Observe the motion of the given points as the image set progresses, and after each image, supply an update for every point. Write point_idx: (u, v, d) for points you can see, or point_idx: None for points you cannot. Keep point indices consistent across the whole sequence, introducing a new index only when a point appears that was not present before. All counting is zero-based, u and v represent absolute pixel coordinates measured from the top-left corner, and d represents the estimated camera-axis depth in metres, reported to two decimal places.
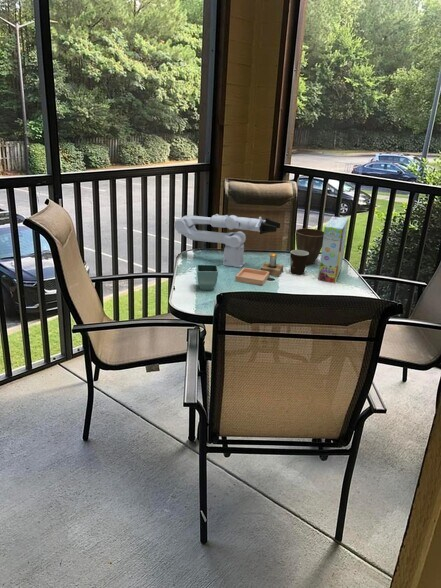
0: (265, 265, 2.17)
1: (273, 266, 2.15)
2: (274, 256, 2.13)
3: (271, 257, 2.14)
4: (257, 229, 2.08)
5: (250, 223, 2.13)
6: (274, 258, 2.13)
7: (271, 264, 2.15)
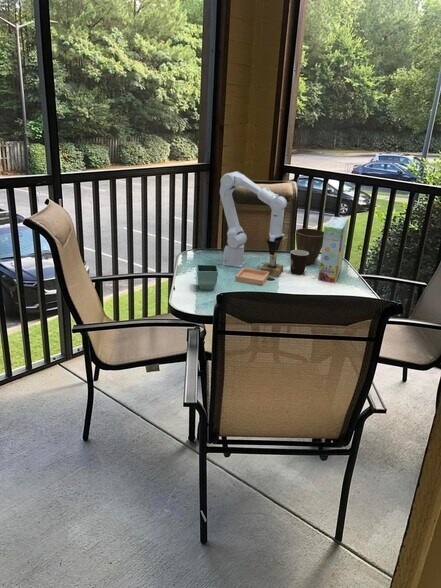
0: (265, 265, 2.17)
1: (273, 266, 2.15)
2: (274, 256, 2.13)
3: (271, 257, 2.14)
4: (271, 239, 2.05)
5: (277, 227, 2.06)
6: (273, 258, 2.13)
7: (271, 264, 2.15)
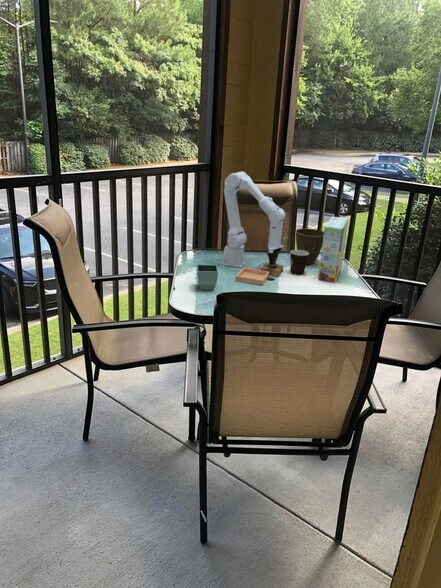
0: (265, 265, 2.17)
1: (273, 266, 2.15)
2: None
3: None
4: (270, 251, 2.07)
5: (276, 239, 2.09)
6: None
7: None
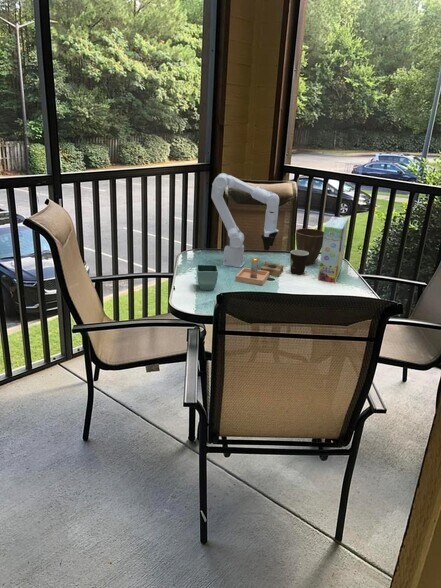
0: (265, 265, 2.17)
1: (255, 271, 2.06)
2: (256, 261, 2.04)
3: (253, 262, 2.04)
4: (265, 235, 2.11)
5: (271, 223, 2.13)
6: (255, 262, 2.04)
7: (253, 269, 2.05)
